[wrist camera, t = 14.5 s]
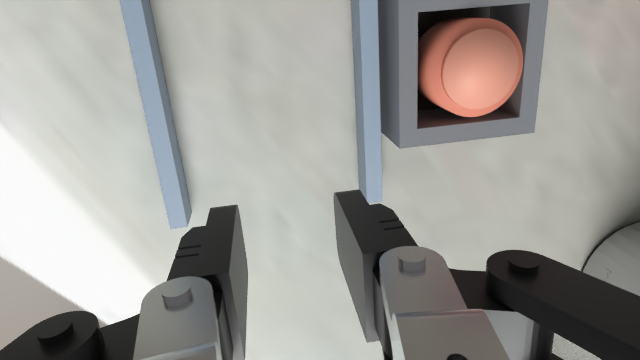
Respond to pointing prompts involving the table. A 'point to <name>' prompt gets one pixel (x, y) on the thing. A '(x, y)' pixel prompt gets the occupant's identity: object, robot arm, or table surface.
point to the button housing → (440, 124)
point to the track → (162, 121)
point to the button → (469, 65)
